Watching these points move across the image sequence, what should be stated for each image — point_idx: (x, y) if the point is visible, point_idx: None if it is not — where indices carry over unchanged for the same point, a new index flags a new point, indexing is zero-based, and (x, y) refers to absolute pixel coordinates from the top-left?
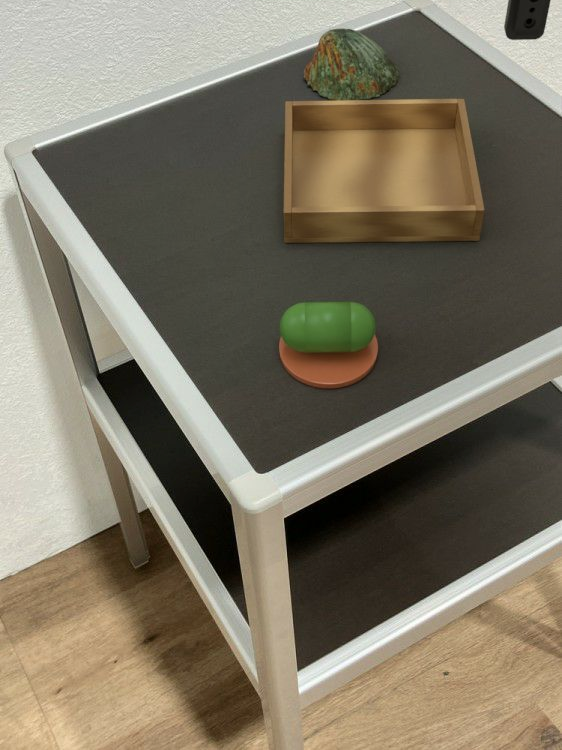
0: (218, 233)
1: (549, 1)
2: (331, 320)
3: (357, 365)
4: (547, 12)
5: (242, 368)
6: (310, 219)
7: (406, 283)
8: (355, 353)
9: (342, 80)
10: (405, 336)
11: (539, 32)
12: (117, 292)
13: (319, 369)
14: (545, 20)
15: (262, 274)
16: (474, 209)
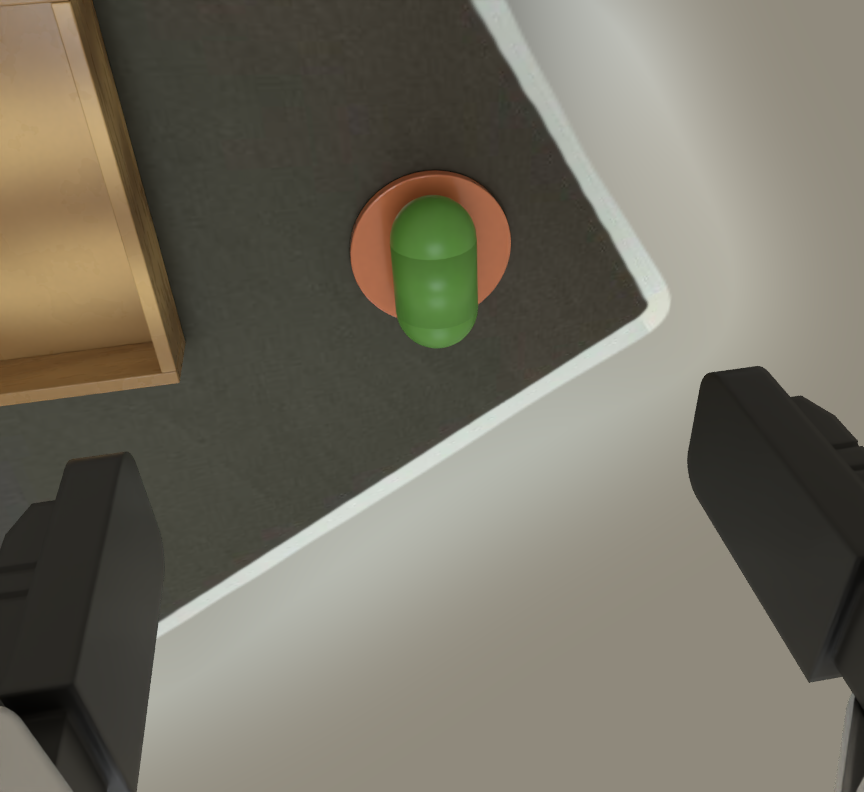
0: (184, 436)
1: (841, 464)
2: (461, 285)
3: (473, 205)
4: (813, 428)
5: (468, 357)
6: (170, 332)
7: (251, 125)
8: None
9: None
10: (389, 123)
11: (814, 404)
12: (335, 523)
13: (481, 260)
14: (791, 405)
15: (269, 362)
16: (68, 6)
